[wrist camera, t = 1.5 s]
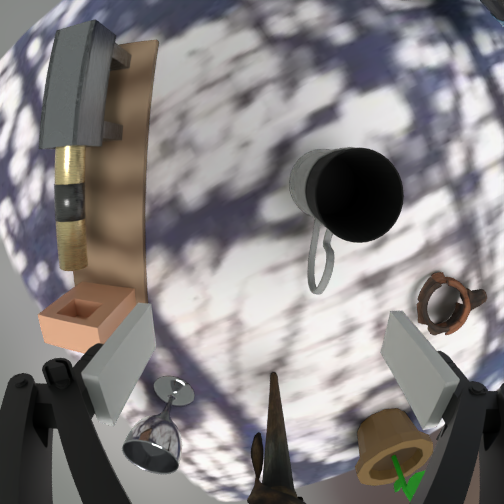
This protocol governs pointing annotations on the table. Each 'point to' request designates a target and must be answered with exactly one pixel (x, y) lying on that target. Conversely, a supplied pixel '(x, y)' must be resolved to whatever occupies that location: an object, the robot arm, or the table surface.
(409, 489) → the flowerpot
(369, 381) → the table surface
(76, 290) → the socket block
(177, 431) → the wine glass
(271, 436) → the decorative torch
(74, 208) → the tube
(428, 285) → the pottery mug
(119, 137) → the grey bridge block
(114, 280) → the base board
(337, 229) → the glass holder
